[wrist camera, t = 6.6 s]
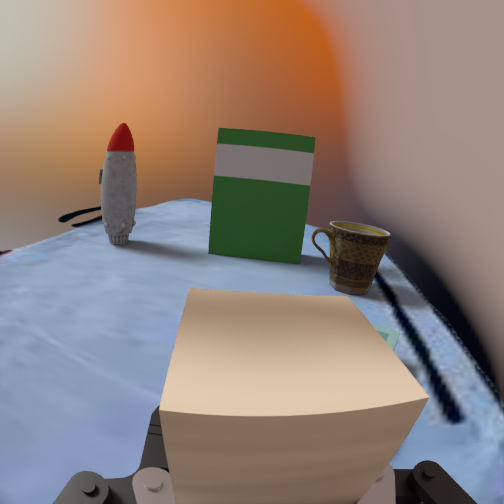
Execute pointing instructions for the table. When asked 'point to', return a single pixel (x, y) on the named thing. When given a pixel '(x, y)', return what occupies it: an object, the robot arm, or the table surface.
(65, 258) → the table surface
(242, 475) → the birch block
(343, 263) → the ceramic cup
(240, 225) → the hardback book
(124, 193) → the toy rocket
